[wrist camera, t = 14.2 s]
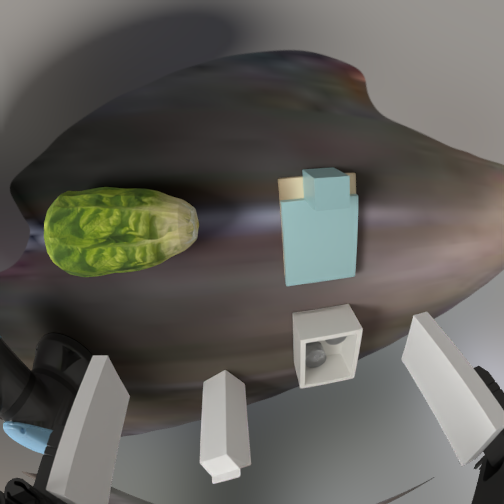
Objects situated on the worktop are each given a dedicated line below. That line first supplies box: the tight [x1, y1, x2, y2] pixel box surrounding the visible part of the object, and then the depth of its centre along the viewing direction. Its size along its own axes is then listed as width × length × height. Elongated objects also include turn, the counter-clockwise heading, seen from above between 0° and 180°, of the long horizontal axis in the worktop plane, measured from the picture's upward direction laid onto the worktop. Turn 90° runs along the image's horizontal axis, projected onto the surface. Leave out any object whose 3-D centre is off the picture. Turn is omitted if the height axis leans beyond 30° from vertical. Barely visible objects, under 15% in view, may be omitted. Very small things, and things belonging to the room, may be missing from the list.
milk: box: [200, 370, 251, 484], centre depth 46 cm, size 6×6×22 cm
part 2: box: [325, 336, 347, 345], centre depth 49 cm, size 4×4×3 cm
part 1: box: [305, 341, 326, 368], centre depth 51 cm, size 4×4×3 cm
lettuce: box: [44, 187, 199, 277], centre depth 35 cm, size 12×21×11 cm, turn 92°
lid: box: [280, 167, 358, 286], centre depth 40 cm, size 11×17×6 cm, turn 6°
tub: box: [292, 304, 363, 388], centre depth 49 cm, size 10×12×7 cm
